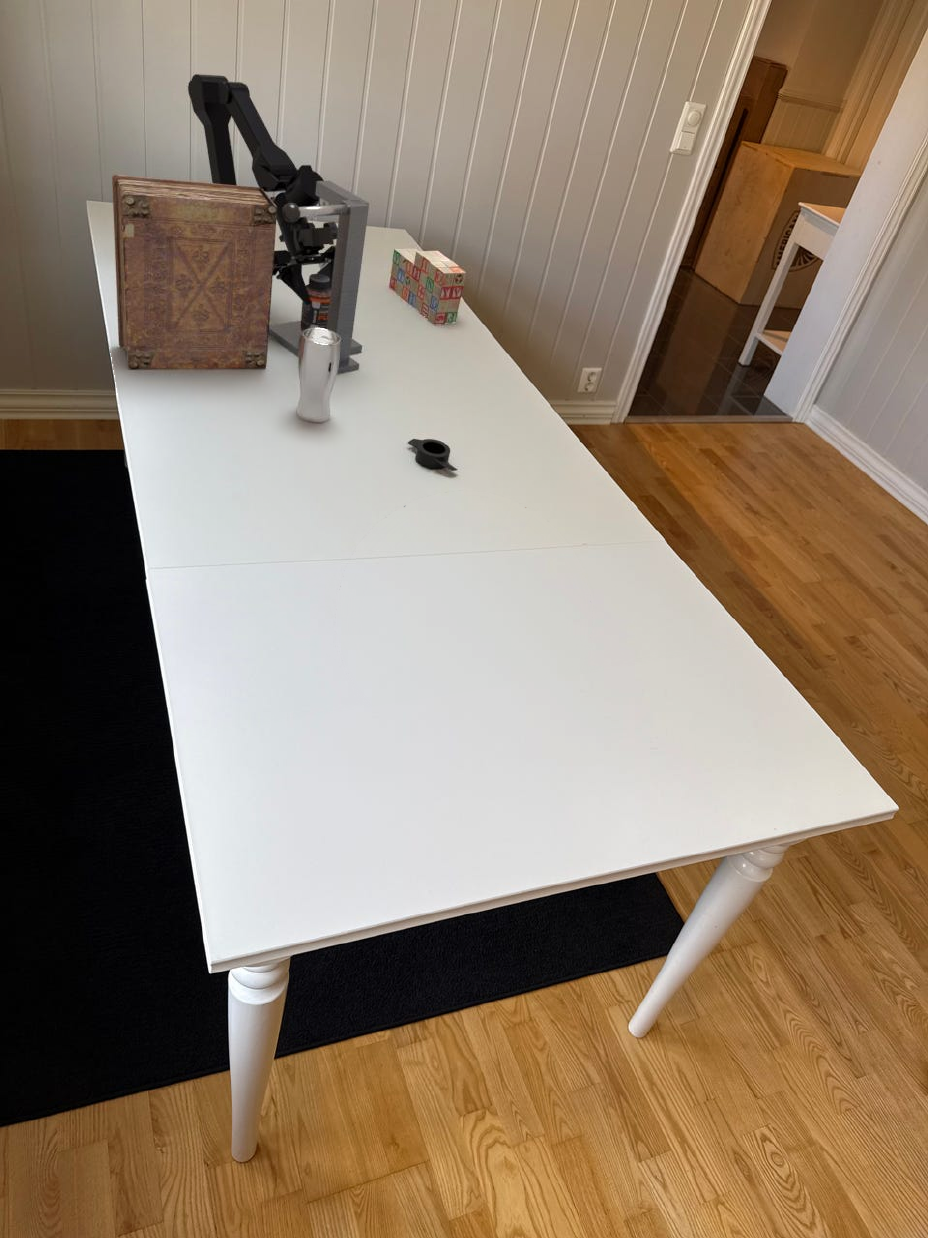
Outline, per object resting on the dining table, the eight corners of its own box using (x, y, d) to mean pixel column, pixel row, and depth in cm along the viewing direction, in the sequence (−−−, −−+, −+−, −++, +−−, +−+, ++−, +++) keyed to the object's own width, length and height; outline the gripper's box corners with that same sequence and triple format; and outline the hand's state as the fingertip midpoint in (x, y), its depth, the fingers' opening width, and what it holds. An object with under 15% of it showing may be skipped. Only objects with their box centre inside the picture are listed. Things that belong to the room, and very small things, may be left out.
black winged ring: (446, 448, 160) (449, 434, 158) (458, 478, 153) (461, 464, 151) (404, 445, 157) (407, 431, 155) (415, 476, 150) (418, 461, 148)
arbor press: (222, 339, 173) (227, 168, 153) (320, 323, 188) (337, 166, 168) (281, 385, 164) (295, 210, 144) (379, 365, 179) (404, 203, 159)
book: (126, 369, 157) (119, 193, 138) (118, 346, 163) (110, 173, 144) (266, 369, 168) (277, 205, 149) (254, 347, 174) (263, 187, 155)
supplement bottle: (319, 341, 177) (324, 286, 169) (294, 331, 178) (298, 276, 171) (334, 332, 181) (340, 278, 174) (310, 322, 182) (314, 268, 175)
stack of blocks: (387, 287, 213) (395, 235, 205) (409, 286, 216) (418, 235, 208) (433, 325, 201) (444, 272, 193) (456, 324, 204) (467, 271, 196)
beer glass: (315, 428, 155) (324, 348, 145) (285, 412, 157) (292, 332, 147) (340, 416, 160) (350, 338, 150) (310, 401, 162) (318, 323, 152)
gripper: (272, 207, 160) (302, 291, 162) (352, 203, 172) (379, 281, 174) (246, 234, 169) (275, 314, 171) (324, 228, 181) (350, 303, 183)
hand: (321, 302), depth 174 cm, fingers closed on supplement bottle, 6 cm apart
